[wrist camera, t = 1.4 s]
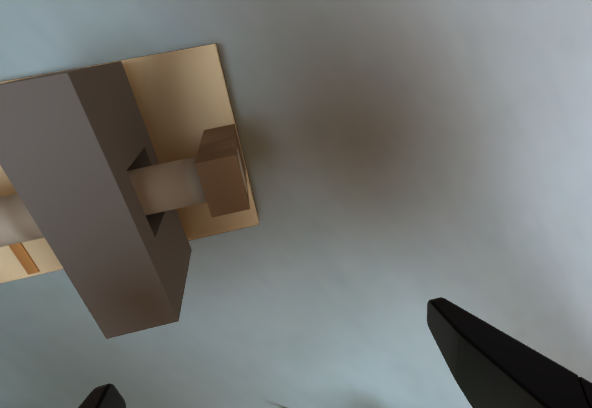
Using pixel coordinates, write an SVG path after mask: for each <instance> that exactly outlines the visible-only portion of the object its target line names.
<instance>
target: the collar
mask: <svg viewBox="0 0 592 408" xmlns="http://www.w3.org/2000/svg"><path fill="white" fill-rule="evenodd" d="M157 164H159V161H158V159H157V156H156V153H155V150H154V148H153V145H152V142H151V140H150V137H149V134H148V132H147V129H146V126H145V124H144V121H143V118H142V115H141V113H140V110H139V107H138V105H137V102H136V99H135V97H134V94H133V91H132V89H131V86H130V83H129V80H128V78H127V75H126V72H125V70H124V67H123V64H122V62H121V61H118V62H112V63H107V64H101V65H95V66H90V67H84V68H79V69H73V70H67V71H62V72H56V73H51V74H45V75H41V76H36V77H31V78H26V79H21V80H16V81H11V82H6V83H1V84H0V165H1V167H2V169H3V170H4V172H5V174H6V175H7V177H8V178H9V180H10V182H11V183H12V185H13V187H14V188H15V190H16V192H17V193H18V195H19V196H20V198H21V200H22V201H23V203H24V205H25V206H26V208H27V210H28V211H29V213H30V214H31V216H32V218H33V219H34V221H35V223H36V224H37V226H38V228H39V229H40V231H41V233H42V234H43V236H44V237H45V239H46V241H47V242H48V244H49V246H50V247H51V249H52V251H53V252H54V254H55V255H56V257H57V259H58V260H59V262H60V264H61V265H62V267H63V269H64V270H65V272H66V273H67V275H68V277H69V278H70V280H71V282H72V283H73V285H74V287H75V288H76V290H77V291H78V293H79V295H80V296H81V298H82V300H83V301H84V303H85V305H86V306H87V308H88V310H89V311H90V313H91V314H92V316H93V318H94V319H95V321H96V323H97V324H98V326H99V328H100V329H101V331H102V332H103V334H104V336H105V337H106V339H108V338H112V337H116V336H120V335H124V334H128V333H132V332H136V331H140V330H144V329H148V328H153V327H157V326H161V325H165V324H169V323H173V322H177V321H179V316H180V310H181V305H182V299H183V294H184V288H185V282H186V277H187V271H188V266H189V260H190V255H191V247H190V245H189V242H188V239H187V237H186V234H185V231H184V229H183V226H182V223H181V221H180V218H179V215H178V212H177V210H176V209H173V210H168V211H164V212H159V213H155V214H150V215H145V213H144V211H143V208H142V206H141V204H140V201H139V199H138V197H137V194H136V192H135V189H134V187H133V185H132V182H131V180H130V178H129V175H128V173H127V171H128V170H133V169H138V168H143V167H148V166H152V165H157Z"/></svg>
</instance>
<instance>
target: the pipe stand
mask: <svg viewBox="0 0 592 408" xmlns="http://www.w3.org/2000/svg"><path fill="white" fill-rule="evenodd" d="M120 61H121V62H122V64H123V67H124V70H125V72H126V75H127V78H128V80H129V83H130V86H131V89H132V91H133V94H134V97H135V99H136V102H137V105H138V107H139V110H140V113H141V115H142V118H143V121H144V124H145V126H146V129H147V132H148V134H149V137H150V140H151V142H152V145H153V148H154V150H155V153H156V156H157V159H158V161H159V164H157V165H152V166H148V167H143V168H138V169H133V170H128V171H127V173H128V175H129V178H130V180H131V182H132V185H133V187H134V189H135V192H136V194H137V197H138V199H139V201H140V204H141V206H142V208H143V211H144V213H145V215H150V214H155V213H159V212H164V211H168V210H173V209H176V210H177V212H178V215H179V218H180V221H181V223H182V226H183V229H184V231H185V234H186V237H187V239H188V241H189V240H193V239H198V238H202V237H207V236H211V235H215V234H220V233H224V232H229V231H233V230H237V229H242V228H246V227H251V226H255V225H259V220H258V214H257V210H256V206H255V202H254V198H253V194H252V190H251V185H250V181H249V177H248V173H247V169H246V165H245V161H244V157H243V152H242V148H241V144H240V140H239V136H238V132H237V128H236V124H235V119H234V115H233V111H232V107H231V103H230V99H229V95H228V91H227V87H226V82H225V78H224V74H223V70H222V66H221V62H220V58H219V54H218V49H217V45H216V43H215V44H210V45H204V46H199V47H193V48H187V49H182V50H176V51H171V52H165V53H159V54H154V55H148V56H143V57H137V58H131V59H126V60H120ZM115 62H118V61H115ZM109 63H112V62H109ZM103 64H107V63H103ZM98 65H101V64H98ZM92 66H95V65H92ZM87 67H90V66H87ZM81 68H84V67H81ZM75 69H79V68H75ZM70 70H73V69H70ZM64 71H67V70H64ZM59 72H62V71H59ZM53 73H56V72H53ZM47 74H51V73H47ZM42 75H45V74H42ZM36 76H41V75H36ZM36 76H31V77H36ZM31 77H25V78H19V79H14V80H8V81H3V82H0V84H1V83H6V82H11V81H16V80H21V79H26V78H31ZM61 269H63V267H62V265H61V264H60V262H59V260H58V259H57V257H56V255H55V254H54V252H53V251H52V249H51V247H50V246H49V244H48V242H47V241H46V239H45V237H44V236H43V234H42V233H41V231H40V229H39V228H38V226H37V224H36V223H35V221H34V219H33V218H32V216H31V214H30V213H29V211H28V210H27V208H26V206H25V205H24V203H23V201H22V200H21V198H20V196H19V195H18V193H17V192H16V190H15V188H14V187H13V185H12V183H11V182H10V180H9V178H8V177H7V175H6V174H5V172H4V170H3V169H2V167H1V165H0V283H4V282H8V281H12V280H17V279H21V278H26V277H30V276H34V275H39V274H43V273H48V272H52V271H57V270H61Z"/></svg>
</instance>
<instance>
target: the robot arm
mask: <svg viewBox="0 0 592 408" xmlns="http://www.w3.org/2000/svg"><path fill="white" fill-rule="evenodd" d="M427 323H428V326H429V329H430V331H431V333H432V335H433V337H434V339H435V341H436V343H437V345H438V347H439V349H440V351H441V353H442V355H443V357H444V359H445V361H446V363H447V365H448V367H449V369H450V371H451V373H452V375H453V377H454V379H455V380H456V382H457V384H458V385H459V387H460V388H461V390H462V392H463V393H464V395H465V396H466V398H467V400H468V401H469V403H470V404H471V406H472V407H473V408H592V383H591V382H589V381H587V380H586V379H584V378H582V377H578V375H577V374H575V373H573V372H572V371H570V370H568V369H566V368H565V367H563V366H561V365H559V364H558V363H556V362H554V361H552V360H551V359H549V358H547V357H545V356H544V355H542V354H540V353H539V352H537V351H535V350H533V349H532V348H530V347H528V346H526V345H525V344H523V343H521V342H519V341H518V340H516V339H514V338H512V337H511V336H509V335H507V334H505V333H504V332H502V331H500V330H499V329H497V328H495V327H493V326H492V325H490V324H488V323H486V322H485V321H483V320H481V319H479V318H478V317H476V316H474V315H472V314H471V313H469V312H467V311H465V310H464V309H462V308H460V307H458V306H457V305H455V304H453V303H452V302H450V301H448V300H446V299H444V298H441V297H440V298H436V299H432V300H429V301H428V303H427ZM78 408H126V404H125V401H124V399H123V397H122V396H121V395H120V393H119V392H118V390H117V389H116V387H115V386H114V385H113V384H106V385H102V386H99V387H96V388H95V389H94V390H93V391H92V392H91V393H90V394H89V395H88V396H87V398H86V399H85V400H84V401H83V402H82V404H81V405H80V406H79V407H78Z"/></svg>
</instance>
